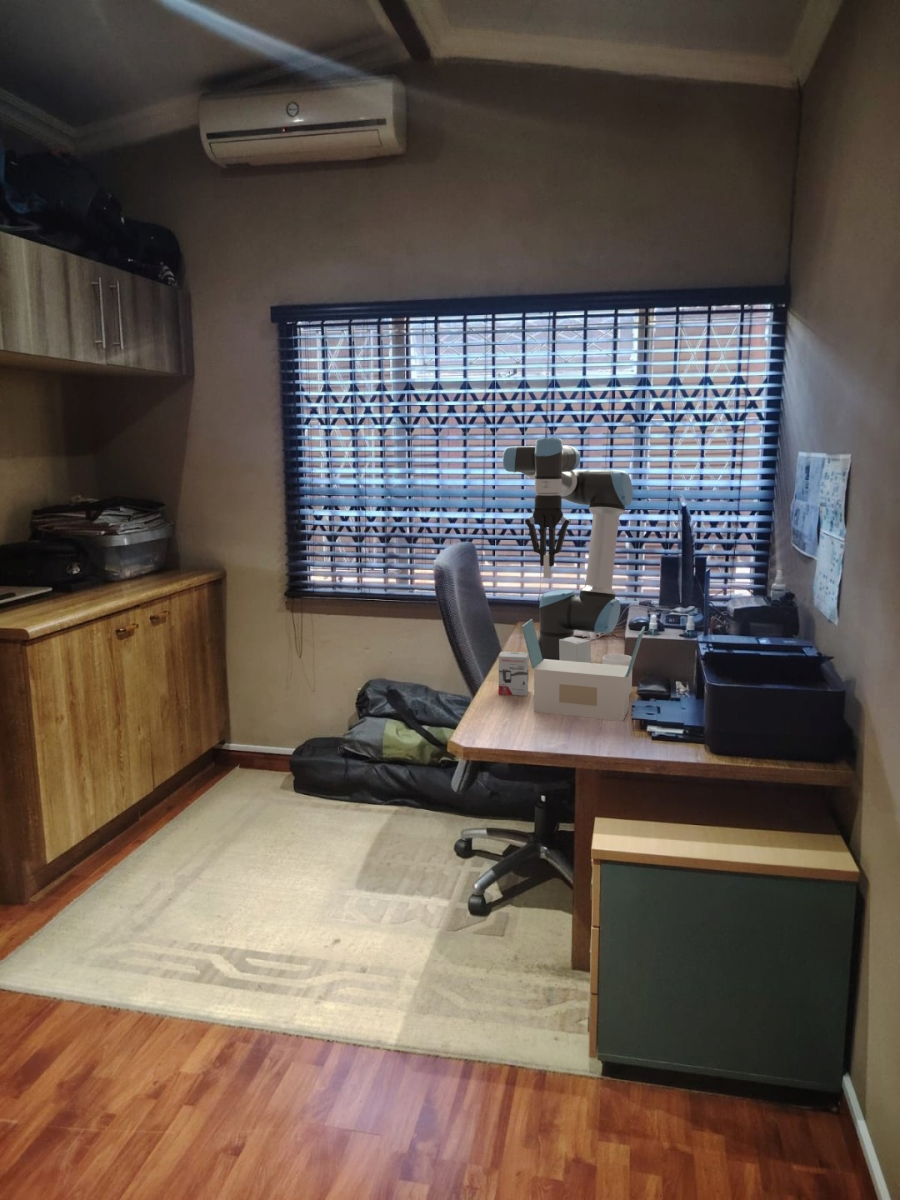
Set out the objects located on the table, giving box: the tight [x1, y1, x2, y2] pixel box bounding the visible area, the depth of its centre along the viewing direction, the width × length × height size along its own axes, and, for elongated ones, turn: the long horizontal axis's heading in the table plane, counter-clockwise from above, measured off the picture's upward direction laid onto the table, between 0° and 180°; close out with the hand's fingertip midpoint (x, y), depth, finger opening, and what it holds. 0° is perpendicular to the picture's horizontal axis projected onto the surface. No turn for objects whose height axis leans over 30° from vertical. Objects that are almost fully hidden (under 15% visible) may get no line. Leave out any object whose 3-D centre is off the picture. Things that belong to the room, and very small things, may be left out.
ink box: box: [497, 651, 530, 697], centre depth 227 cm, size 9×5×12 cm, turn 79°
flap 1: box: [521, 618, 543, 670], centre depth 214 cm, size 12×10×1 cm
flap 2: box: [626, 625, 646, 677], centre depth 204 cm, size 12×10×1 cm
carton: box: [533, 659, 630, 722], centre depth 211 cm, size 11×24×12 cm, turn 69°
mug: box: [601, 653, 633, 696], centre depth 224 cm, size 9×12×11 cm
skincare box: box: [559, 636, 592, 663], centre depth 231 cm, size 8×6×15 cm
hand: (547, 577), depth 221 cm, fingers closed
